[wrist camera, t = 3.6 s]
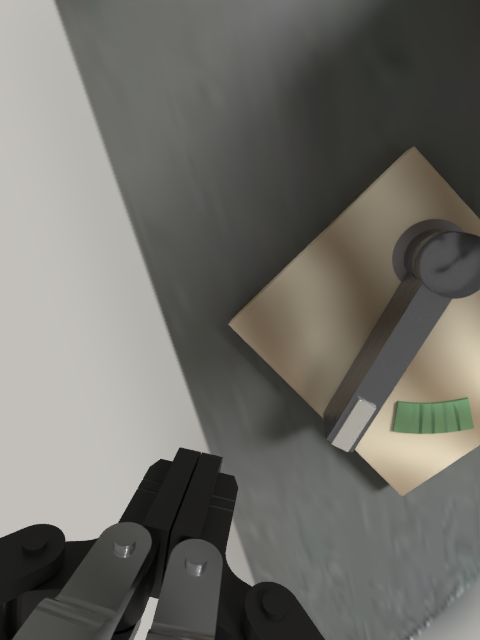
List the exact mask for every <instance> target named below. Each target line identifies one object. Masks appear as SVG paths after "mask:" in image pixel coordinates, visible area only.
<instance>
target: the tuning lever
mask: <svg viewBox="0 0 480 640" xmlns="http://www.w3.org/2000/svg"><path fill="white" fill-rule="evenodd" d="M404 266H405V269H406V271H407V273H406V275H405V277H404V278H403V280H402V282H401V283H400V285H399V287H398V288H397V290H396V292H395V293H394V295H393V297H392V298H391V300H390V302H389V303H388V305H387V307H386V308H385V310H384V312H383V313H382V315H381V317H380V318H379V320H378V322H377V323H376V325H375V327H374V328H373V330H372V332H371V333H370V335H369V337H368V338H367V340H366V342H365V344H364V345H363V347H362V349H361V350H360V352H359V354H358V355H357V357H356V359H355V360H354V362H353V364H352V365H351V367H350V369H349V370H348V372H347V374H346V375H345V377H344V379H343V380H342V382H341V384H340V385H339V387H338V389H337V390H336V392H335V394H334V395H333V397H332V399H331V400H330V402H329V404H328V405H327V407H326V409H325V410H324V412H323V418H324V427H325V435H326V440H327V441H330V442H331V444H332V445H334V446H336V447H338V448H340V449H342V450H344V451H346V452H349V451H350V452H352V453H353V451H354V450H355V448H356V447H357V445H358V443H359V442H360V440H361V439H362V437H363V436H364V434H365V433H366V431H367V430H368V428H369V427H370V425H371V423H372V422H373V420H374V419H375V417H376V416H377V414H378V413H379V411H380V410H381V408H382V406H383V405H384V403H385V402H386V400H387V399H388V397H389V396H390V394H391V393H392V391H393V390H394V388H395V386H396V385H397V383H398V382H399V380H400V379H401V377H402V376H403V374H404V373H405V371H406V370H407V368H408V366H409V365H410V363H411V362H412V360H413V359H414V357H415V356H416V354H417V353H418V351H419V349H420V348H421V346H422V345H423V343H424V342H425V340H426V339H427V337H428V336H429V334H430V333H431V331H432V329H433V328H434V326H435V325H436V323H437V322H438V320H439V319H440V317H441V316H442V314H443V313H444V311H445V309H446V308H447V306H448V305H449V303H450V302H451V300H452V299H458V298H464V297H467V296H470V295H472V294H474V293H476V292H477V291H479V290H480V237H479V236H477V235H474V234H471V233H465V232H457V231H450V230H442V229H431V230H427V231H424V232H422V233H420V234H418V235H417V236H416V237H415V238H413V239H412V241H411V242H410V243H409V245H408V246H407V248H406V251H405V254H404Z"/></svg>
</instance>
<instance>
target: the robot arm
mask: <svg viewBox="0 0 480 640" xmlns="http://www.w3.org/2000/svg"><path fill="white" fill-rule="evenodd" d="M222 458H223V457H220V456H216V455H211V454H207V453H201V452H198V451H194V450H189V449H184V448H179V450H178V452H177V454H176V456H175V458H174V460H173V462H172V461H168V460H164V459H160V460H159V461H158V462H156V463H155V464H153V465H152V466H150V467H149V469H148V471H147V473H146V474H145V476H144V478H143V480H142V482H141V483H140V485H139V487H138V489H137V490H136V492H135V494H134V496H133V498H132V499H131V501H130V503H129V505H128V507H127V508H126V510H125V512H124V514H123V515H122V517H121V519H120V521H119V522H118V523H117V524H114V525H112V526H110V527H109V528H107V529H106V530H105V531H104V532H103V533H102V534H101V535H100V537H99V538H97V539H93V540H87V541H67V542H65V536H64V534H63V532H62V531H61V530H60V529H59V528H57V527H56V526H53V525H49V524H36V525H32V526H29V527H26V528H24V529H21V530H19V531H16V532H14V533H11V534H9V535H7V536H4V537H2V538H0V640H133V639H134V637H135V635H136V633H137V631H138V628H139V626H140V623H141V617H142V615H143V613H144V610H145V608H146V605H147V602H148V600H149V597H153V598H157V599H159V600H158V604H157V608H156V611H155V615H154V619H153V623H152V626H151V629H149V631H148V634H147V637H146V640H325V639H324V638H323V636H322V635H321V633H320V632H319V630H318V629H317V627H316V626H315V625H314V623H313V622H312V620H311V619H310V617H309V616H308V614H307V613H306V612H305V610H304V609H303V607H302V606H301V604H300V603H299V601H298V600H297V599H296V597H295V596H294V595H293V594H292V593H291V592H290V591H289V590H288V589H287V588H285V587H284V586H282V585H280V584H277V583H274V582H261V583H258V584H256V585H254V586H253V587H252V586H250V585H248V584H247V583H245V582H243V581H242V580H241V579H239V578H238V577H237V576H236V575H235V574H234V573H233V572H232V571H231V569H230V568H229V566H228V564H227V561H226V554H225V552H226V546H227V541H228V536H229V531H230V526H231V521H232V516H233V511H234V506H235V501H236V496H237V491H238V486H237V483H236V480H235V477H234V476H232V475H228V474H224V473H220V469H221V464H222Z"/></svg>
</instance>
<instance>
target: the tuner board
mask: <svg viewBox="0 0 480 640" xmlns="http://www.w3.org/2000/svg"><path fill="white" fill-rule="evenodd" d="M431 229H442V230H450V231H457V232H465V233H471V234H474V235H477V236H479V237H480V219H479V218H478V217H477V216H476V214H475V213H474V212H473V211H472V210H471V209H470V208H469V207H468V206H467V204H466V203H465V202H464V201H463V200H462V199H461V198H460V197H459V196H458V194H457V193H456V192H455V191H454V190H453V189H452V188H451V187H450V185H449V184H448V183H447V182H446V181H445V180H444V179H443V178H442V177H441V175H440V174H439V173H438V172H437V171H436V170H435V169H434V168H433V167H432V165H431V164H430V163H429V162H428V161H427V160H426V159H425V158H424V157H423V155H422V154H421V153H420V152H419V151H418V150H417V149H416V148H415V146H414V147H412V148H410V149H408V150H407V151H405V152H404V153H403V154H402V155H401V156H400V157H399V158H398V159H397V160H396V161H395V162H394V163H393V164H392V165H391V166H390V167H389V168H388V169H387V170H386V171H385V172H384V173H383V174H382V175H381V176H379V177H378V178H377V179H376V180H375V181H374V182H373V183H372V184H371V185H370V186H369V187H368V188H367V189H366V190H365V191H364V192H363V193H362V194H361V195H360V196H359V197H358V198H357V199H356V200H355V201H353V202H352V203H351V204H350V205H349V206H348V207H347V208H346V209H345V210H344V211H343V212H342V213H341V214H340V215H339V216H338V217H337V218H336V219H335V220H334V221H333V222H332V223H331V224H330V225H329V226H327V227H326V228H325V229H324V230H323V231H322V232H321V233H320V234H319V235H318V236H317V237H316V238H315V239H314V240H313V241H312V242H311V243H310V244H309V245H308V246H307V247H306V248H305V249H304V250H303V251H301V252H300V253H299V254H298V255H297V256H296V257H295V258H294V259H293V260H292V261H291V262H290V263H289V264H288V265H287V266H286V267H285V268H284V269H283V270H282V271H281V272H280V273H279V274H278V275H277V276H275V277H274V278H273V279H272V280H271V281H270V282H269V283H268V284H267V285H266V286H265V287H264V288H263V289H262V290H261V291H260V292H259V293H258V294H257V295H256V296H255V297H254V298H253V299H252V300H251V301H249V302H248V303H247V304H246V305H245V306H244V307H243V308H242V309H241V310H240V311H239V312H238V313H237V314H236V315H235V316H234V317H233V318H232V319H231V321H230V323H229V324H228V325H229V326H230V327H231V328H232V329H233V330H234V331H235V332H236V333H237V334H238V335H239V336H240V337H241V338H242V339H243V340H244V341H245V342H246V343H247V344H248V345H250V346H251V347H252V348H253V349H254V350H255V351H256V352H257V353H258V354H259V355H260V356H261V357H262V358H263V359H264V360H265V361H266V362H267V363H268V364H269V365H270V366H271V367H272V368H273V369H274V370H275V371H276V372H277V373H278V374H279V375H280V376H281V377H282V378H283V379H284V380H285V381H286V382H287V383H288V384H289V385H290V386H291V387H292V388H293V389H294V390H295V391H296V392H297V393H298V394H299V395H300V396H301V397H302V398H303V399H304V400H305V401H306V402H307V403H308V404H309V405H310V406H311V407H312V408H313V409H314V410H315V411H316V412H317V413H318V414H319V415H320V416H321V417H322V418H323V412H324V410H325V409H326V407H327V405H328V404H329V402H330V400H331V399H332V397H333V395H334V394H335V392H336V390H337V389H338V387H339V385H340V384H341V382H342V380H343V379H344V377H345V375H346V374H347V372H348V370H349V369H350V367H351V365H352V364H353V362H354V360H355V359H356V357H357V355H358V354H359V352H360V350H361V349H362V347H363V345H364V344H365V342H366V340H367V338H368V337H369V335H370V333H371V332H372V330H373V328H374V327H375V325H376V323H377V322H378V320H379V318H380V317H381V315H382V313H383V312H384V310H385V308H386V307H387V305H388V303H389V302H390V300H391V298H392V297H393V295H394V293H395V292H396V290H397V288H398V287H399V285H400V283H401V282H402V280H403V278H404V277H405V275H406V273H407V271H406V269H405V266H404V254H405V251H406V248H407V246H408V245H409V243H410V242H411V241H412V239H413V238H415V237H416V236H417V235H418V234H420V233H422V232H424V231H427V230H431ZM323 419H324V418H323ZM479 445H480V290H479V291H477V292H476V293H474V294H472V295H470V296H467V297H464V298H458V299H452V300H451V302H450V303H449V305H448V306H447V308H446V309H445V311H444V313H443V314H442V316H441V317H440V319H439V320H438V322H437V323H436V325H435V326H434V328H433V329H432V331H431V333H430V334H429V336H428V337H427V339H426V340H425V342H424V343H423V345H422V346H421V348H420V349H419V351H418V353H417V354H416V356H415V357H414V359H413V360H412V362H411V363H410V365H409V366H408V368H407V370H406V371H405V373H404V374H403V376H402V377H401V379H400V380H399V382H398V383H397V385H396V386H395V388H394V390H393V391H392V393H391V394H390V396H389V397H388V399H387V400H386V402H385V403H384V405H383V406H382V408H381V410H380V411H379V413H378V414H377V416H376V417H375V419H374V420H373V422H372V423H371V425H370V427H369V428H368V430H367V431H366V433H365V434H364V436H363V437H362V439H361V440H360V442H359V443H358V445H357V447H356V448H355V450H356V451H357V452H358V453H359V454H360V455H361V456H362V457H363V458H364V459H365V460H366V461H367V462H368V463H369V464H370V465H371V466H372V467H373V468H374V469H375V470H376V471H377V472H378V473H379V474H380V475H381V476H382V477H383V478H384V479H385V480H386V481H387V482H388V483H389V484H390V485H391V486H392V487H393V488H394V489H395V490H396V491H397V492H398V493H399V494H400V495H401V496H403V495H405V494H406V493H408V492H409V491H411V490H412V489H414V488H415V487H417V486H419V485H420V484H422V483H423V482H425V481H426V480H428V479H429V478H431V477H432V476H434V475H435V474H437V473H438V472H440V471H441V470H443V469H444V468H446V467H447V466H449V465H450V464H452V463H453V462H455V461H456V460H458V459H459V458H461V457H462V456H464V455H465V454H467V453H468V452H470V451H471V450H473V449H474V448H476V447H477V446H479Z"/></svg>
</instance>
